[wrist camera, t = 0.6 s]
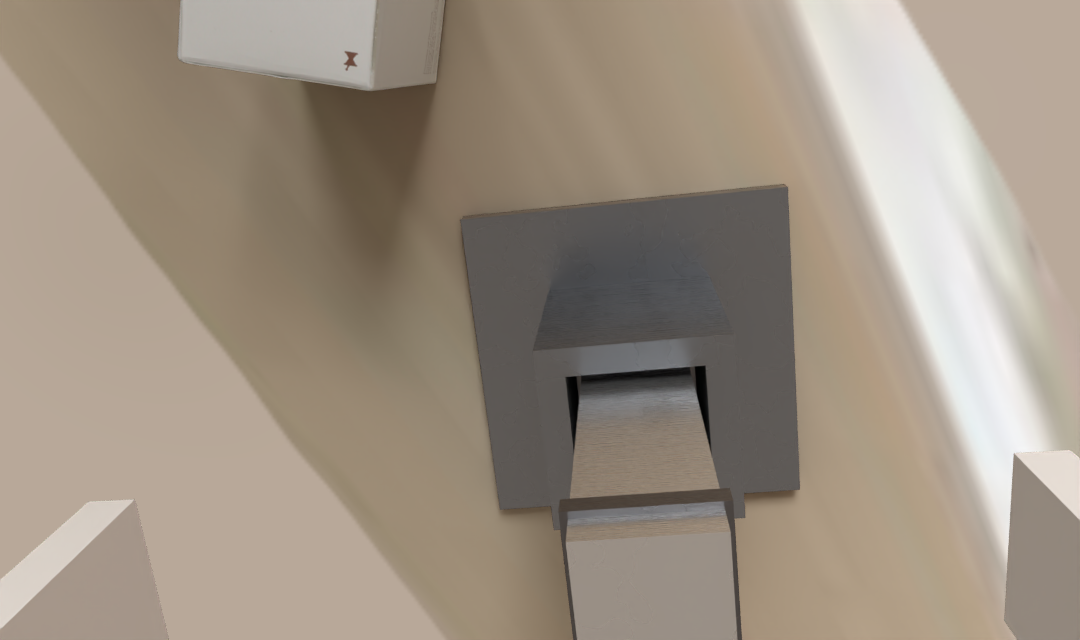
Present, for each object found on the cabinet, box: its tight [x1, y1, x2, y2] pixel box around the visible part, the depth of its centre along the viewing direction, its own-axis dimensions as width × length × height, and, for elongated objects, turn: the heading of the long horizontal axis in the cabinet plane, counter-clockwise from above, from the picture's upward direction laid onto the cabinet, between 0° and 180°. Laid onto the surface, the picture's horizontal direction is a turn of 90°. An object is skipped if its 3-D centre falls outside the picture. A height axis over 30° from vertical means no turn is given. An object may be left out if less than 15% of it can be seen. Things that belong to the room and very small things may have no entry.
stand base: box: [461, 184, 800, 530], centre depth 42 cm, size 16×16×12 cm
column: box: [558, 366, 742, 640], centre depth 36 cm, size 5×5×22 cm
